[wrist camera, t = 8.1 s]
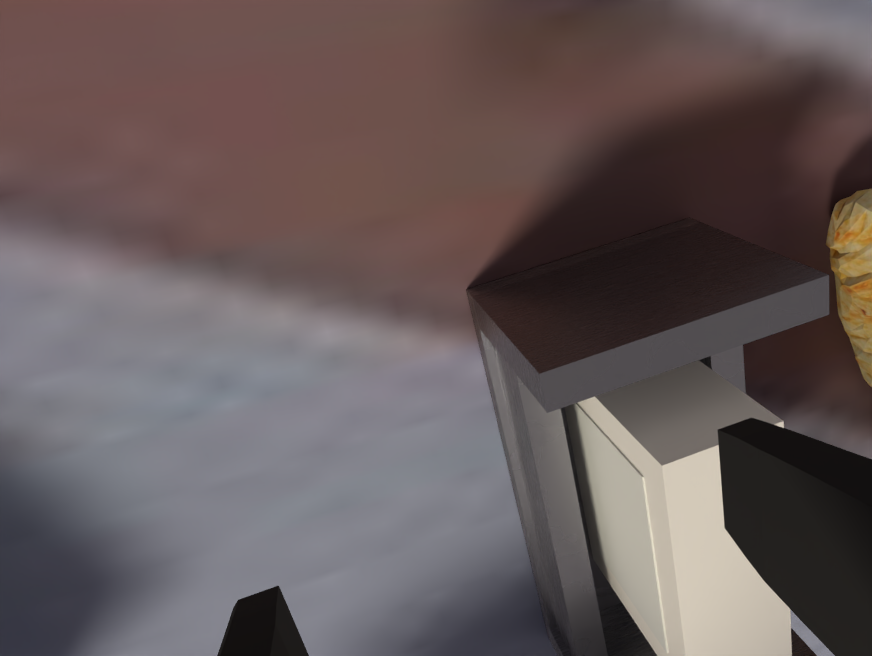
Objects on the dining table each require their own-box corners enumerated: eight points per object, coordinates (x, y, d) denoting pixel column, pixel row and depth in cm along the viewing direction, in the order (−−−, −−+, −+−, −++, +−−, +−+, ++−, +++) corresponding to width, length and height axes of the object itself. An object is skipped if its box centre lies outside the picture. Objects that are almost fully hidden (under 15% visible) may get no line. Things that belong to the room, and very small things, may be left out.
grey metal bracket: (721, 570, 27) (830, 692, 22) (548, 637, 26) (621, 781, 21) (689, 217, 21) (829, 275, 16) (465, 289, 20) (539, 373, 15)
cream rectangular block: (674, 528, 25) (793, 665, 19) (591, 559, 24) (690, 708, 19) (649, 323, 21) (785, 420, 16) (553, 355, 21) (659, 466, 16)
